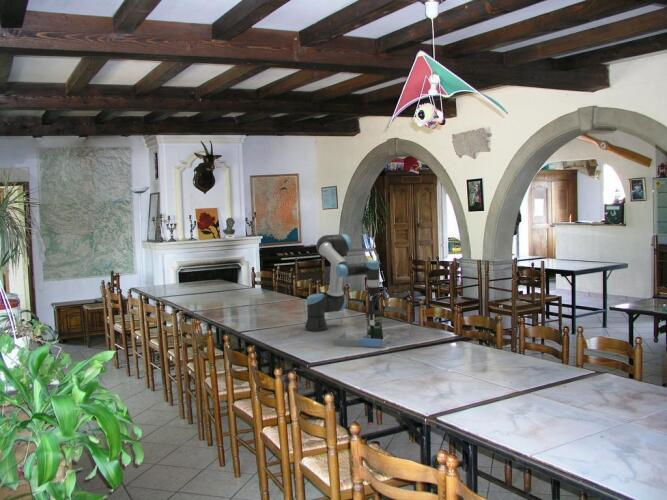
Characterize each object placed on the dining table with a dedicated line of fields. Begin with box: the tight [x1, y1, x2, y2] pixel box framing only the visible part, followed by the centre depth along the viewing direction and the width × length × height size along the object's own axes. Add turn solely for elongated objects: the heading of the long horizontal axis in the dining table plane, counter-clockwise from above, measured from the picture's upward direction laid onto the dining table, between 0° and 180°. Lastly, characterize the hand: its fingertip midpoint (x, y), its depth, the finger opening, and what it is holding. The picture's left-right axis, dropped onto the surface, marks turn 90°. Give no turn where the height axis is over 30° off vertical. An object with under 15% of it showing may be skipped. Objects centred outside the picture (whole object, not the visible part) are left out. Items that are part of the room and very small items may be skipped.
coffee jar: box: [365, 309, 384, 340], centre depth 389 cm, size 10×8×19 cm
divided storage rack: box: [333, 332, 391, 349], centre depth 389 cm, size 18×30×5 cm, turn 71°
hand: (374, 323), depth 388 cm, fingers closed on coffee jar, 10 cm apart
